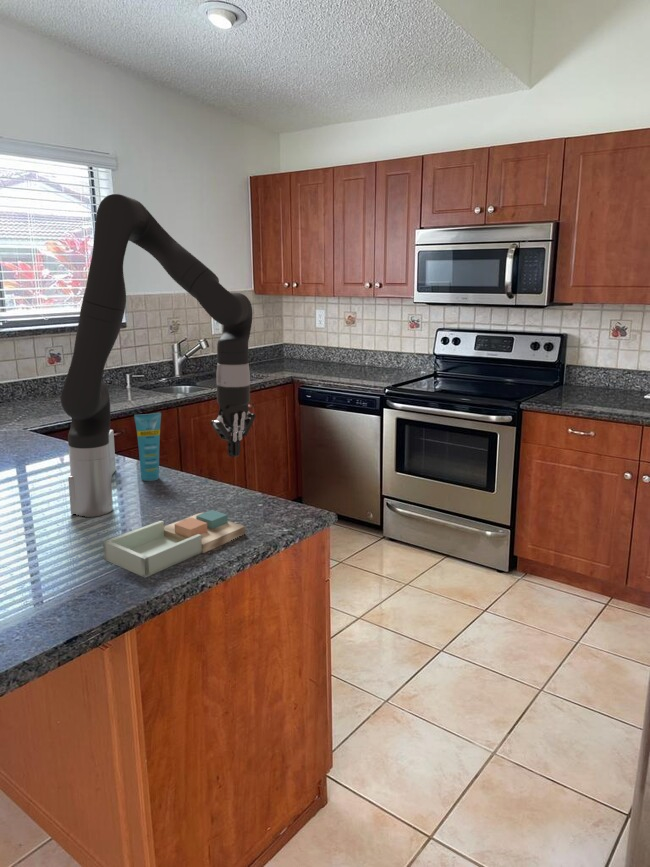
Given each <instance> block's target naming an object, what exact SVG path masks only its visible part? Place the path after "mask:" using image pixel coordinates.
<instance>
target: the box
mask: <svg viewBox="0 0 650 867" xmlns="http://www.w3.org/2000/svg"><path fill="white" fill-rule="evenodd" d="M164 526H165V521H163V520H159V521H156V522H153V523H151V524H147V525H145V526H143V527H140V528H137V529H134V530H131V531H129V532H126V533H122V534H120V535H117V536H115V537H112V538H110V539H109V538H108V539H106V540H103V543H102V546H103V560H104V561H107V562H109V563H111V564H114V565H116V566H118V567H120V568H122V569H125V570H127V571H129V572H132V573H134V574H136V575H138V576H140V577H142V578H147V577H150V576H152V575H154V574H157V573H159V572H161V571H164V570H166V569H169V568H170V567H173V566H175V565H178V564H180V563H182V562H184V561H186V560H188V559H191V558H193V557H195V556H197V555H199V554H203V553H202V535H200V534H197V535H194V536H192V537H190V538H187V539H185V540H182V541H180V542H178V541H175V540H173V539H170V538H168V537H165V536H164Z"/></svg>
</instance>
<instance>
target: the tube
mask: <svg viewBox="0 0 650 867" xmlns="http://www.w3.org/2000/svg"><path fill="white" fill-rule="evenodd" d="M133 415H134V416H133V417H134V423H135V428H136V436H137V444H138V454H139V456H138V457H139V467H140V477H141V478H140V479H141V481H146V482H153V481H157V480H158V479H160V439H161V437H160V436H161V421H162V412H154V413H145V414H143V413H142V414H133Z"/></svg>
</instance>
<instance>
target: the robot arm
mask: <svg viewBox="0 0 650 867" xmlns="http://www.w3.org/2000/svg"><path fill="white" fill-rule="evenodd" d="M129 242H131V243H133V244H135V245H137V246H138V247H140V248H141V249H143V250H144V251H145V252H147V253H148V254H150V255H151V256H152V257H153V258H154V259H155V260H156V261H157V262H158V263H159V264H160V266H161V267H162V268H163V269H164V271H165V272H166V273H167V274H168V275H169V276H170V278H172V280H173V281H174V282H176V283H177V285H178V286H180V287H181V288H182V289H184V290H185V291H186V292H187V294H189V295H190V296H192V297H193V298H194V299H195V300H197V302H198V303H199V305H200V306H201V307H202V308H203V310H204V311H205V312H206V313H207V315H209V317H211V318H212V319H213V320H214V321H215V322H217V323H218V324H220V325H221V326H222V335H221V336H220V337H219V338H218V340H217V346H216V361H217V364H216V403H217V404H218V405H219V407H218V408H219V409H218V412H217V415H218V416H217V417H216V419H215V420H214V419H213V420H211V421H210V425H211V427H212V428H213V429H214V431H215V432H216V434H217V435H218V437H219V438H220V439H221V440H224V441H226V442H227V455H228V456H229V457H232V458H236V457H239V456H240V455H241V440H243V438H244V437H247V435H248V433H249V431H251V430H250V429H251V427H252V426H253V423H254V421H255V419H256V414H255V413H252V412H250V410H249V409H250V408H249V406H248V405H249V403H250V402H251V375H250V374H251V373H250V365H249V362H250V361H249V355H250V354H249V352H250V350H249V340H250V337H251V330H252V325H253V306H252V303H251V300H250V299H249V297H248V296H247V295H245V294H243V293H241V292H230V291H229V290H228V289H227V288H225V287H224V285H222V284H221V283H220V279H219V277H218V276H217V275H216V274H215V273H214V272H213V271H212V269H210V268H209V267H207V265H206V264H204V263H203V262H202V261H201V260H199V259H198V258H197V257H196V256H194V255H193V254H192V253H191V252H190V251H188V250H187V249H186V248H185V247H183V246H182V245H181V244H180V243H179V242H178V241H177V240H175V239H174V238H173V237H172V236H171V235H170V234H169V233H168V232H167V231H166V230H165V229H164V227H162V225H161V224H160V223H159V222H158V220H157V219H156V218H155V217H154V216H153V215H152V214H151V212H150V211H149V210H148V209H147V208H146V207H145V206H144V204H143V203H141V202H140V200H139V201H138V200H137V199H134V198H131V197H129V196H127V195H124V194H121V193H109V194H108V195H106V196H105V197H104V198H102V200H101V201H100V203H99V205H98V207H97V210H96V214H95V224H94V235H93V246H92V253H91V260H90V262H89V263H90V264H89V269H88V274H87V279H86V285H85V289H84V293H83V298H82V301H81V306H80V312H79V319H78V324H77V329H76V330H77V331H76V335H75V340H74V348H73V352H72V358H71V362H70V365H69V368H68V371H67V375H66V377H65V381H64V383H63V386H62V389H61V393H60V404H61V407H62V409H63V411H64V412H65V414H66V415H67V416H68V417H70V418H71V423H70V428H69V432H68V434H67V445H68V456H69V457H68V459H69V468H70V475H69V476H68V477H67V478H68V492H69V506H70V515H71V514H72V515H71V516H74V515H73V514H76V515H75V516H78V515H79V516H78V517H82V516H85V517H84V518H86V517H87V518H88V517H89V518H90V517H91V518H92V517H100V516H103V515H106V514H109V513H110V512H112V511H113V510H114V506H113V505H114V503H113V487H112V486H113V485H112V476H111V468H110V452H109V432H110V430H111V400H110V392H109V389H108V387H107V385H106V383H105V382H104V381H103V375H104V372H105V371H104V370H105V367H106V363H107V361H108V359H109V356H110V353H111V352H112V350H113V348H114V346H115V343H116V341H117V339H118V336H119V333H120V331H121V327H122V325H123V319H124V315H125V311H126V304H127V290H126V284H125V277H124V260H125V255H126V251H127V247H128V243H129Z"/></svg>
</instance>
